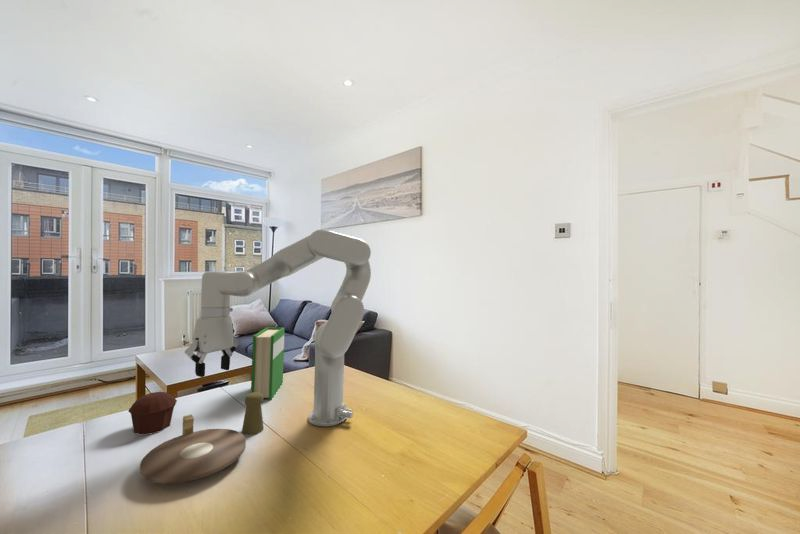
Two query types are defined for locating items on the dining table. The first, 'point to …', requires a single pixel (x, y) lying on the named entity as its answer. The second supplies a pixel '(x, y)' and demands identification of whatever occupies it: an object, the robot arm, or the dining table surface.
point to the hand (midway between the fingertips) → (213, 372)
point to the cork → (253, 414)
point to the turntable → (192, 454)
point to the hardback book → (267, 361)
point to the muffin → (152, 412)
